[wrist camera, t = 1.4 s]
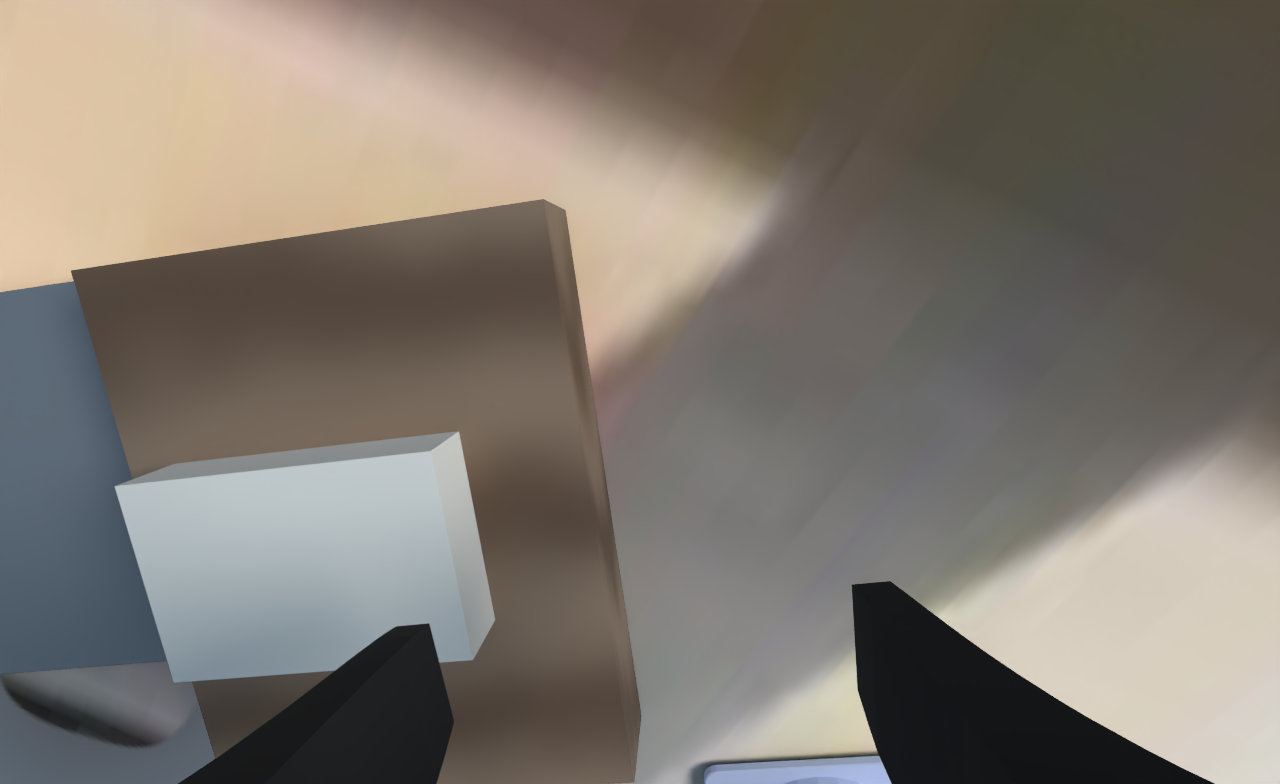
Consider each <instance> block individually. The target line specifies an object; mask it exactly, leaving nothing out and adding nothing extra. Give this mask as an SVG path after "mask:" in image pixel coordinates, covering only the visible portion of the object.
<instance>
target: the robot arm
mask: <svg viewBox="0 0 1280 784" xmlns="http://www.w3.org/2000/svg"><path fill="white" fill-rule="evenodd" d="M852 595H853V613H854V631H855V648H856V666H857V684H858V692H859V695H860V699H861V702H862V705H863V708H864V711H865V715H866V718H867V721H868V724H869V727H870V730H871V733H872V736H873V739H874V742H875V745H876V748H877V751H878V754H879V756H865V757H847V758H829V759H811V760H793V761H775V762H757V763H739V764H721V765H713V766H710V767H709V768H707V769H706V771H705V772H704V784H1214V783H1212V782H1210V781H1208V780H1206V779H1204V778H1202V777H1199V776H1197V775H1195V774H1193V773H1191V772H1189V771H1187V770H1185V769H1183V768H1181V767H1179V766H1177V765H1175V764H1173V763H1171V762H1169V761H1167V760H1165V759H1163V758H1161V757H1159V756H1157V755H1155V754H1153V753H1151V752H1149V751H1148V750H1146V749H1144V748H1142V747H1140V746H1138V745H1136V744H1135V743H1133V742H1131V741H1129V740H1127V739H1126V738H1124V737H1122V736H1120V735H1118V734H1117V733H1115V732H1113V731H1111V730H1109V729H1108V728H1106V727H1104V726H1102V725H1100V724H1098V723H1097V722H1095V721H1093V720H1091V719H1089V718H1088V717H1086V716H1084V715H1083V714H1081V713H1079V712H1077V711H1076V710H1074V709H1072V708H1071V707H1069V706H1067V705H1066V704H1064V703H1062V702H1061V701H1059V700H1057V699H1056V698H1054V697H1053V696H1051V695H1050V694H1048V693H1047V692H1045V691H1043V690H1042V689H1040V688H1039V687H1037V686H1036V685H1034V684H1032V683H1031V682H1029V681H1028V680H1026V679H1025V678H1023V677H1021V676H1020V675H1018V674H1017V673H1015V672H1014V671H1012V670H1011V669H1009V668H1008V667H1006V666H1005V665H1003V664H1002V663H1000V662H999V661H998V660H996V659H995V658H993V657H992V656H990V655H989V654H987V653H986V652H985V651H983V650H982V649H980V648H979V647H977V646H976V645H975V644H973V643H972V642H970V641H969V640H968V639H966V638H965V637H964V636H962V635H961V634H959V633H958V632H957V631H955V630H954V629H953V628H951V627H950V626H949V625H947V624H946V623H945V622H943V621H942V620H941V619H939V618H938V617H937V616H935V615H934V614H933V613H931V612H930V611H929V610H927V609H926V608H925V607H923V606H922V605H921V604H920V603H918V602H917V601H916V600H914V599H913V598H912V597H910V596H909V595H908V594H907V593H905V592H904V591H903V590H901V589H900V588H899V587H897V586H896V585H894V584H893V583H892V582H890V581H888V582H877V583H866V584H855V585H852ZM453 724H454V718H453V714H452V711H451V707H450V703H449V699H448V695H447V691H446V687H445V683H444V679H443V675H442V671H441V667H440V663H439V660H438V656H437V652H436V648H435V644H434V640H433V636H432V632H431V628H430V624H429V623H428V624H417V625H406V626H396V627H394V628H393V629H391V630H390V631H388V632H386V633H385V634H383V635H382V636H381V637H379V638H378V639H376V640H375V641H374V642H372V643H371V644H369V645H368V646H367V647H365V648H364V649H363V650H361V651H360V652H359V653H357V654H356V655H355V656H353V657H352V658H351V659H350V660H348V661H347V662H346V663H344V664H343V665H342V666H340V667H339V668H338V669H337V670H335V671H334V672H333V673H331V674H330V675H329V676H327V677H326V678H325V679H323V680H322V681H321V682H320V683H318V684H317V685H316V686H314V687H313V688H312V689H310V690H309V691H308V692H306V693H305V694H304V695H303V696H301V697H300V698H299V699H297V700H296V701H295V702H293V703H292V704H291V705H289V706H288V707H287V708H285V709H284V710H283V711H281V712H280V713H279V714H277V715H276V716H274V717H273V718H272V719H270V720H269V721H268V722H266V723H265V724H263V725H262V726H261V727H259V728H258V729H256V730H255V731H254V732H252V733H251V734H249V735H248V736H247V737H245V738H244V739H243V740H241V741H240V742H238V743H237V744H236V745H234V746H233V747H231V748H230V749H229V750H227V751H226V752H224V753H223V754H222V755H220V756H219V757H217V758H216V759H215V760H213V761H212V762H210V763H209V764H207V765H206V766H204V767H203V768H201V769H200V770H198V771H197V772H195V773H194V774H192V775H191V776H189V777H188V778H186V779H184V780H183V781H181V782H180V783H178V784H437V781H438V777H439V774H440V771H441V767H442V764H443V761H444V757H445V754H446V750H447V747H448V743H449V739H450V735H451V732H452V728H453Z"/></svg>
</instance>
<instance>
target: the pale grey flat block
mask: <svg viewBox="0 0 1280 784" xmlns="http://www.w3.org/2000/svg"><path fill="white" fill-rule="evenodd" d="M115 490H116V493H117V496H118V500H119V503H120V506H121V510H122V513H123V516H124V519H125V523H126V526H127V529H128V533H129V536H130V539H131V543H132V546H133V549H134V553H135V556H136V559H137V562H138V566H139V569H140V572H141V576H142V579H143V582H144V586H145V589H146V592H147V596H148V599H149V602H150V605H151V609H152V612H153V615H154V619H155V622H156V625H157V629H158V632H159V635H160V639H161V642H162V645H163V648H164V652H165V655H166V658H167V662H168V665H169V668H170V672H171V675H172V678H173V682H174V683H177V682H190V681H203V680H216V679H230V678H243V677H256V676H269V675H283V674H296V673H309V672H322V671H335V670H337V669H338V668H339V667H340V666H342V665H343V664H344V663H346V662H347V661H348V660H350V659H351V658H352V657H353V656H355V655H356V654H357V653H359V652H360V651H361V650H363V649H364V648H365V647H367V646H368V645H369V644H371V643H372V642H374V641H375V640H376V639H378V638H379V637H381V636H382V635H383V634H385V633H386V632H388V631H390V630H391V629H393V628H394V627H396V626H406V625H417V624H428V623H429V624H430V628H431V632H432V636H433V640H434V644H435V648H436V652H437V656H438V660H439V663H442V662H455V661H468V660H473V659H474V657H475V656H476V654H477V652H478V650H479V648H480V646H481V645H482V643H483V641H484V639H485V637H486V636H487V634H488V632H489V630H490V628H491V627H492V625H493V623H494V621H495V616H494V611H493V606H492V601H491V596H490V590H489V585H488V580H487V575H486V570H485V564H484V559H483V554H482V549H481V544H480V538H479V533H478V528H477V523H476V518H475V512H474V507H473V502H472V497H471V492H470V487H469V481H468V476H467V471H466V466H465V461H464V455H463V450H462V445H461V440H460V435H459V431H457V432H448V433H440V434H431V435H422V436H413V437H405V438H396V439H387V440H378V441H370V442H361V443H352V444H343V445H334V446H326V447H317V448H308V449H299V450H291V451H282V452H273V453H264V454H256V455H247V456H238V457H229V458H221V459H212V460H203V461H194V462H186V463H177V464H172V465H170V466H167V467H164V468H162V469H159V470H156V471H154V472H151V473H148V474H146V475H143V476H141V477H138V478H135V479H133V480H130V481H127V482H125V483H122V484H119V485H117V486H115Z"/></svg>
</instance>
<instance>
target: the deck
mask: <svg viewBox="0 0 1280 784" xmlns="http://www.w3.org/2000/svg"><path fill="white" fill-rule="evenodd" d="M71 273H72V276H73V280H74V283H75V286H76V290H77V293H78V296H79V300H80V303H81V307H82V310H83V313H84V317H85V320H86V323H87V327H88V330H89V334H90V337H91V340H92V344H93V347H94V350H95V354H96V357H97V361H98V364H99V367H100V371H101V374H102V377H103V381H104V384H105V388H106V391H107V394H108V398H109V401H110V404H111V408H112V411H113V415H114V418H115V421H116V425H117V428H118V432H119V435H120V438H121V442H122V445H123V448H124V452H125V455H126V459H127V462H128V465H129V469H130V472H131V475H132V479H135V478H138V477H141V476H143V475H146V474H148V473H151V472H154V471H156V470H159V469H162V468H164V467H167V466H170V465H172V464H177V463H186V462H194V461H203V460H212V459H221V458H229V457H238V456H247V455H256V454H264V453H273V452H282V451H291V450H299V449H308V448H317V447H326V446H334V445H343V444H352V443H361V442H370V441H378V440H387V439H396V438H405V437H413V436H422V435H431V434H440V433H448V432H457V431H459V435H460V440H461V445H462V450H463V455H464V461H465V466H466V471H467V476H468V481H469V487H470V492H471V497H472V502H473V507H474V512H475V518H476V523H477V528H478V533H479V538H480V544H481V549H482V554H483V559H484V564H485V570H486V575H487V580H488V585H489V590H490V596H491V601H492V606H493V611H494V616H495V621H494V623H493V625H492V627H491V628H490V630H489V632H488V634H487V636H486V637H485V639H484V641H483V643H482V645H481V646H480V648H479V650H478V652H477V654H476V656H475V657H474V659H473V660H468V661H455V662H442V663H440V667H441V671H442V675H443V679H444V683H445V687H446V691H447V695H448V699H449V703H450V707H451V711H452V714H453V718H454V724H453V728H452V732H451V735H450V739H449V743H448V747H447V750H446V754H445V757H444V761H443V764H442V767H441V771H440V774H439V777H438V781H437V784H613V783H632V782H634V780H635V771H636V761H637V752H638V742H639V733H640V723H641V711H640V704H639V698H638V691H637V684H636V678H635V671H634V664H633V658H632V651H631V644H630V638H629V631H628V624H627V618H626V611H625V604H624V598H623V591H622V584H621V578H620V571H619V564H618V558H617V551H616V544H615V538H614V531H613V524H612V518H611V511H610V504H609V498H608V491H607V484H606V478H605V471H604V464H603V458H602V451H601V445H600V438H599V431H598V425H597V418H596V411H595V405H594V398H593V391H592V385H591V378H590V371H589V365H588V358H587V351H586V345H585V338H584V331H583V325H582V318H581V311H580V305H579V298H578V291H577V285H576V278H575V271H574V265H573V258H572V251H571V245H570V238H569V231H568V225H567V218H566V211H565V210H564V209H562V208H560V207H558V206H556V205H554V204H552V203H550V202H548V201H546V200H544V199H542V200H536V201H529V202H522V203H516V204H509V205H502V206H496V207H489V208H483V209H476V210H469V211H463V212H456V213H450V214H443V215H436V216H430V217H423V218H416V219H410V220H403V221H397V222H390V223H383V224H377V225H370V226H363V227H357V228H350V229H344V230H337V231H330V232H324V233H317V234H311V235H304V236H297V237H291V238H284V239H277V240H271V241H264V242H258V243H251V244H244V245H238V246H231V247H225V248H218V249H211V250H205V251H198V252H191V253H185V254H178V255H172V256H165V257H158V258H152V259H145V260H138V261H132V262H125V263H119V264H112V265H105V266H99V267H92V268H86V269H79V270H72V271H71ZM333 672H334V671H322V672H309V673H296V674H283V675H269V676H256V677H243V678H230V679H216V680H203V681H192V682H193V685H194V688H195V692H196V695H197V698H198V702H199V705H200V709H201V712H202V715H203V719H204V722H205V725H206V729H207V732H208V736H209V739H210V742H211V746H212V749H213V752H214V756H215V759H216V758H217V757H219V756H220V755H222V754H223V753H224V752H226V751H227V750H229V749H230V748H231V747H233V746H234V745H236V744H237V743H238V742H240V741H241V740H243V739H244V738H245V737H247V736H248V735H249V734H251V733H252V732H254V731H255V730H256V729H258V728H259V727H261V726H262V725H263V724H265V723H266V722H268V721H269V720H270V719H272V718H273V717H274V716H276V715H277V714H279V713H280V712H281V711H283V710H284V709H285V708H287V707H288V706H289V705H291V704H292V703H293V702H295V701H296V700H297V699H299V698H300V697H301V696H303V695H304V694H305V693H306V692H308V691H309V690H310V689H312V688H313V687H314V686H316V685H317V684H318V683H320V682H321V681H322V680H323V679H325V678H326V677H327V676H329V675H330V674H331V673H333Z"/></svg>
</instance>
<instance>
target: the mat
mask: <svg viewBox="0 0 1280 784" xmlns="http://www.w3.org/2000/svg"><path fill="white" fill-rule="evenodd" d="M130 480H133V479H132V475H131V472H130V469H129V465H128V462H127V459H126V455H125V452H124V448H123V445H122V442H121V438H120V435H119V432H118V428H117V425H116V421H115V418H114V415H113V411H112V408H111V404H110V401H109V398H108V394H107V391H106V388H105V384H104V381H103V377H102V374H101V371H100V367H99V364H98V361H97V357H96V354H95V350H94V347H93V344H92V340H91V337H90V334H89V330H88V327H87V323H86V320H85V317H84V313H83V310H82V307H81V303H80V300H79V296H78V293H77V290H76V286H75V283H74V281H73V282H66V283H60V284H53V285H46V286H40V287H33V288H26V289H19V290H13V291H6V292H0V674H7V673H20V672H33V671H45V670H58V669H70V668H83V667H96V666H108V665H121V664H133V663H146V662H159V661H167V658H166V655H165V652H164V648H163V645H162V642H161V639H160V635H159V632H158V629H157V625H156V622H155V619H154V615H153V612H152V609H151V605H150V602H149V599H148V596H147V592H146V589H145V586H144V582H143V579H142V576H141V572H140V569H139V566H138V562H137V559H136V556H135V553H134V549H133V546H132V543H131V539H130V536H129V533H128V529H127V526H126V523H125V519H124V516H123V513H122V510H121V506H120V503H119V500H118V496H117V493H116V490H115V486H117V485H119V484H122V483H125V482H127V481H130Z"/></svg>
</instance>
